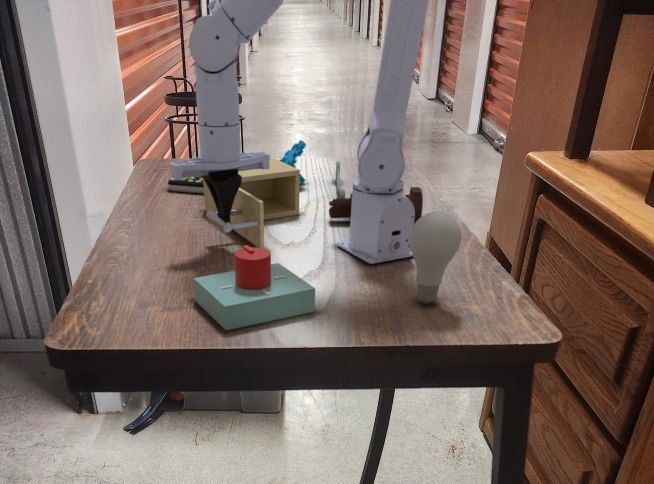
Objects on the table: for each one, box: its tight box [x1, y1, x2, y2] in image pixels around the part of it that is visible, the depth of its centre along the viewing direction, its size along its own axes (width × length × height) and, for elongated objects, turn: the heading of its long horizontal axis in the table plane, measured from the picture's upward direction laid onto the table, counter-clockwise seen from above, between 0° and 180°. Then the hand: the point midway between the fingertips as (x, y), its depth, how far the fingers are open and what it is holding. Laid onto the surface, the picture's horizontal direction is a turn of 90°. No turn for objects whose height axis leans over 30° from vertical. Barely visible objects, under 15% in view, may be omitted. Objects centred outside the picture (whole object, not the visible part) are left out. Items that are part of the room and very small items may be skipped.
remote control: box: [167, 176, 204, 195], centre depth 126 cm, size 6×13×2 cm, turn 73°
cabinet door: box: [205, 188, 265, 249], centre depth 101 cm, size 6×13×7 cm, turn 26°
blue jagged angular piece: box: [278, 139, 307, 189], centre depth 128 cm, size 11×6×10 cm
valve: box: [233, 244, 272, 289], centre depth 80 cm, size 4×4×4 cm
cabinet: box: [203, 157, 301, 221], centre depth 113 cm, size 10×14×7 cm
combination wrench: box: [334, 161, 346, 199], centre depth 124 cm, size 4×1×20 cm
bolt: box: [328, 186, 424, 224], centre depth 109 cm, size 6×5×15 cm
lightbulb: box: [409, 210, 462, 304], centre depth 81 cm, size 6×6×11 cm
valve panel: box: [193, 262, 316, 331], centre depth 82 cm, size 10×12×3 cm
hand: (224, 225), depth 99 cm, fingers closed, pressing on cabinet door
